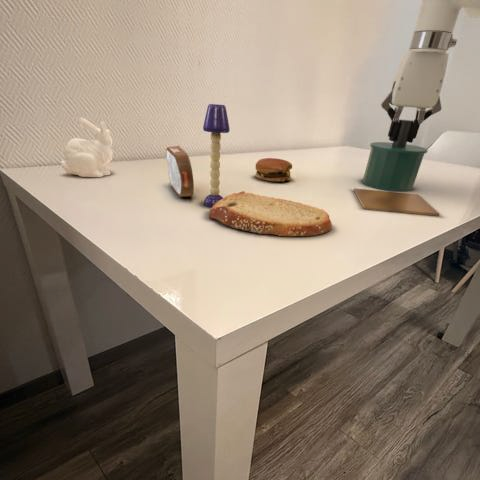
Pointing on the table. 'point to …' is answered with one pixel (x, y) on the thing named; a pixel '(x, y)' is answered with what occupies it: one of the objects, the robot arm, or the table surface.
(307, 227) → the bread slice
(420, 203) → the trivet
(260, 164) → the burger
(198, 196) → the table surface
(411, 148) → the tin lid
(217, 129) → the toy lamp
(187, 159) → the tin
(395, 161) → the enamel tin
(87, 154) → the rabbit
